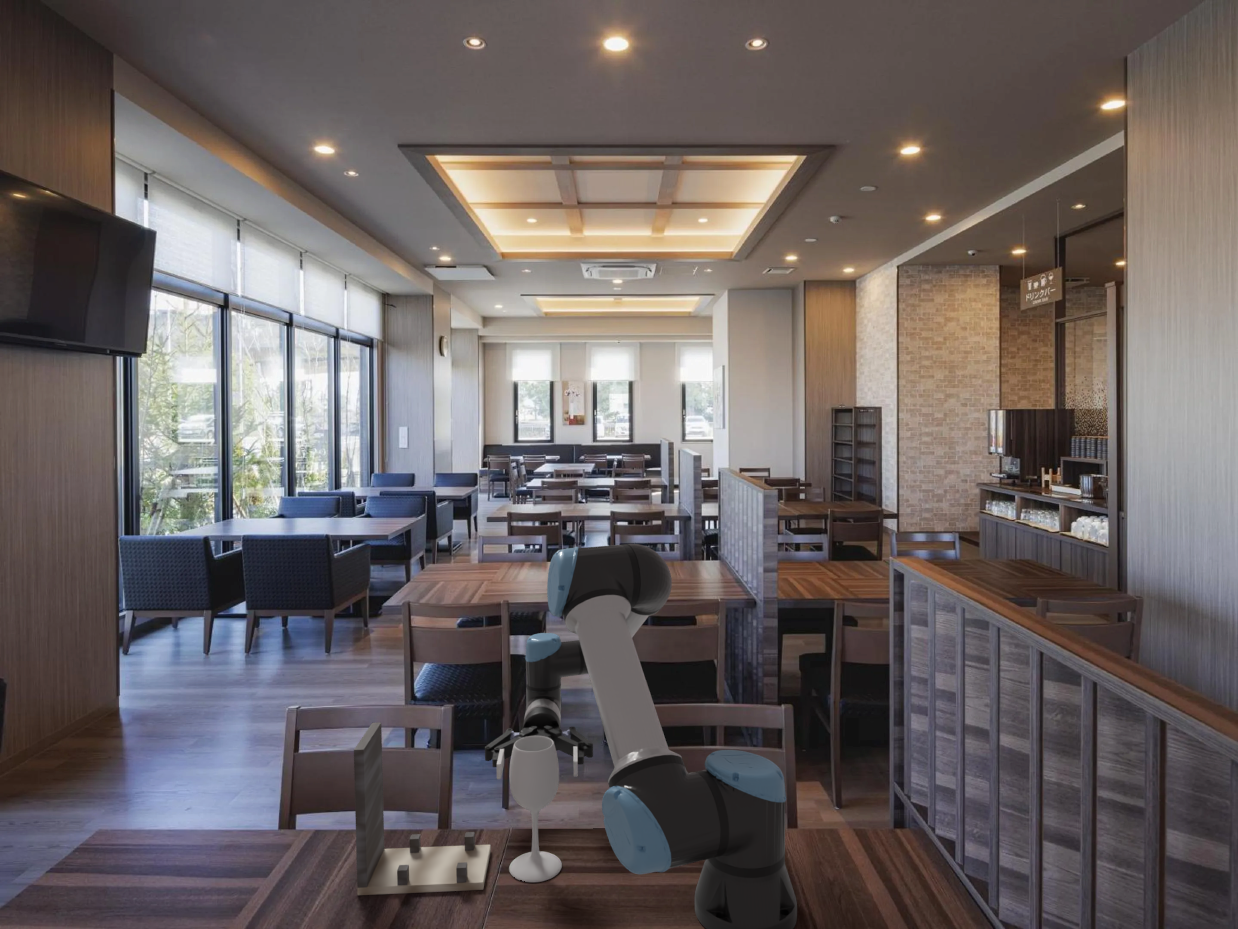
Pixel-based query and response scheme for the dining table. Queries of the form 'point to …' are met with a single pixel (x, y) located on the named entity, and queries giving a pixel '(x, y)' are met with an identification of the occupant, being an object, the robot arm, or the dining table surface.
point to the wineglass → (534, 801)
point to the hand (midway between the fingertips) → (537, 770)
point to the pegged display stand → (416, 863)
